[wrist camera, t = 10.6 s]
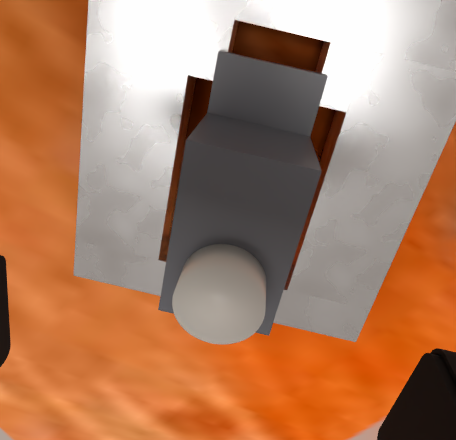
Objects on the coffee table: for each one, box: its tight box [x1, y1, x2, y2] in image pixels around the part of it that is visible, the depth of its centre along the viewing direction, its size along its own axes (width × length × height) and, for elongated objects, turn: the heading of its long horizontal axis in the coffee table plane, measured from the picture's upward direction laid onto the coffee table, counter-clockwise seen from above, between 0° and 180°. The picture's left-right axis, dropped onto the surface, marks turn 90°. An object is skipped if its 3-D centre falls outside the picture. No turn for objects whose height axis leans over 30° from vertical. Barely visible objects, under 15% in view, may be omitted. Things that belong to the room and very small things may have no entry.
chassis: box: [74, 0, 456, 342], centre depth 19 cm, size 24×16×2 cm, turn 168°
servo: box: [158, 50, 328, 344], centre depth 18 cm, size 12×4×10 cm, turn 168°
